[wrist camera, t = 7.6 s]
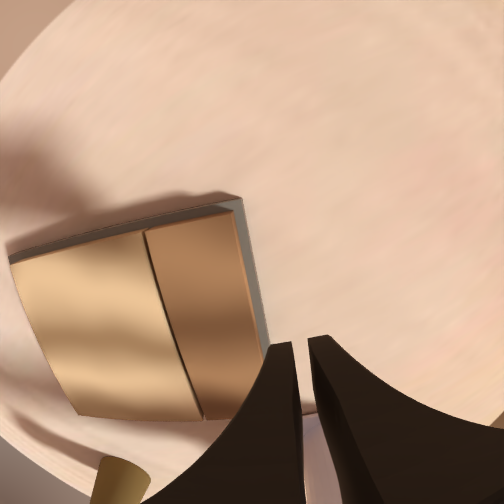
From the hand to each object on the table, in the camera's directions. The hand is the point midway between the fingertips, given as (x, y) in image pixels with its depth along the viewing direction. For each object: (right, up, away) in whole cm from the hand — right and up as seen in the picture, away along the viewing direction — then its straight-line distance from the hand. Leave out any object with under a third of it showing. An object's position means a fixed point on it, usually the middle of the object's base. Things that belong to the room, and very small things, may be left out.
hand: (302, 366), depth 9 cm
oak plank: (-11, -2, +10) cm, 15 cm away
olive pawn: (-16, -21, +16) cm, 31 cm away
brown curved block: (-4, -1, +10) cm, 11 cm away
